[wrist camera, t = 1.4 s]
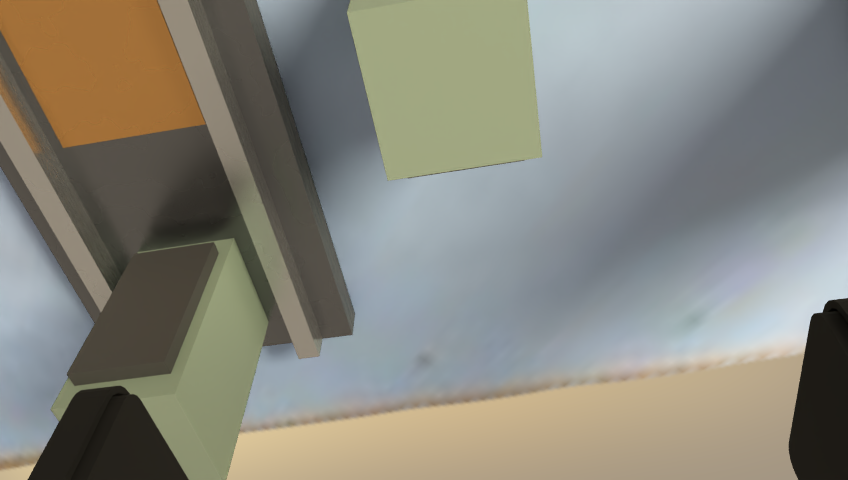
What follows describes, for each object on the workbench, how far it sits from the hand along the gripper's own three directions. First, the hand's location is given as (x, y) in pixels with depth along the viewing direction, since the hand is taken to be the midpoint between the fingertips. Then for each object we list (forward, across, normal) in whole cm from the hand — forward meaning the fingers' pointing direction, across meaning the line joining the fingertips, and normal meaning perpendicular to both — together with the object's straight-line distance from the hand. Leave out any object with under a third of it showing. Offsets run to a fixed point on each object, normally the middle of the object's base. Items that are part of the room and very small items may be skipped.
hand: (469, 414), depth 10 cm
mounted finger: (+19, +13, +11) cm, 25 cm away
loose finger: (+20, 0, 0) cm, 20 cm away
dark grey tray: (+20, +13, +5) cm, 24 cm away
